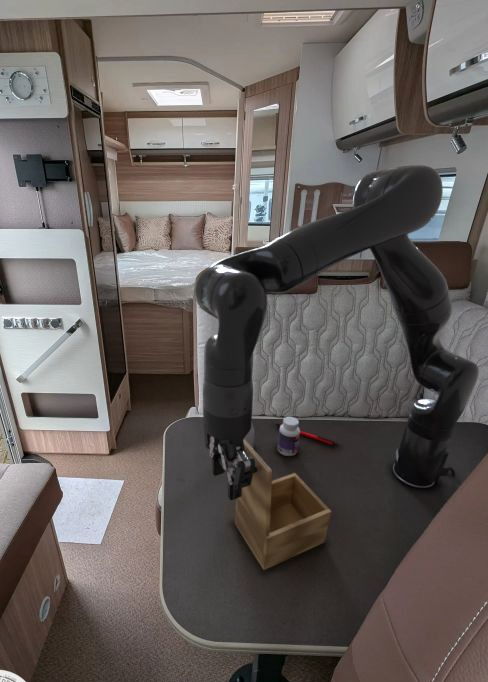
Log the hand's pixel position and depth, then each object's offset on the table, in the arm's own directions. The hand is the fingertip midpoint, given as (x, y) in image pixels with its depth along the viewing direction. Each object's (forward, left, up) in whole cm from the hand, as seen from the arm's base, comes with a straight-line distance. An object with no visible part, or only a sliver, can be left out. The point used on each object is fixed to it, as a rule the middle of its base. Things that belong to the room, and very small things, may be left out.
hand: (226, 484), depth 62 cm
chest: (-12, -4, -19) cm, 23 cm away
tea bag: (-8, -31, -19) cm, 37 cm away
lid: (-5, -2, -2) cm, 6 cm away
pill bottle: (-21, -30, -19) cm, 41 cm away
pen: (-28, -36, -19) cm, 50 cm away
